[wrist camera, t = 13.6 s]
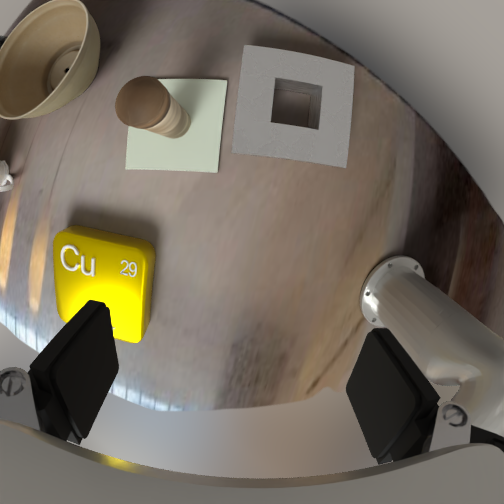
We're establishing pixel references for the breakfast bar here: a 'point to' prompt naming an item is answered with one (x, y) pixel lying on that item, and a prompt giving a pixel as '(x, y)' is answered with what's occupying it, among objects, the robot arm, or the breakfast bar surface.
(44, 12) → the planter bowl
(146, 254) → the element tile
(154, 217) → the breakfast bar surface
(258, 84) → the block
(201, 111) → the pad
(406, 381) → the robot arm
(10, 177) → the cup
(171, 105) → the peg
